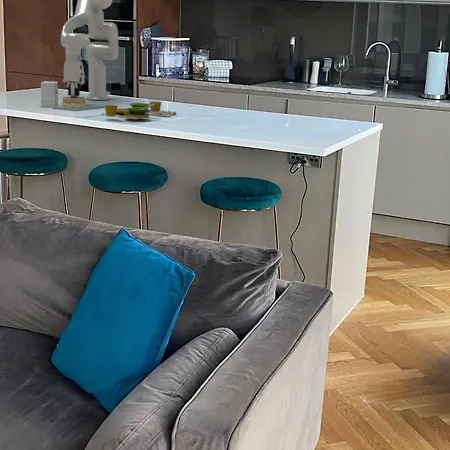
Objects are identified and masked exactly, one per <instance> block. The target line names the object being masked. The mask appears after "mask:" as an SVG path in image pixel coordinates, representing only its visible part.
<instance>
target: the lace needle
mask: <svg viewBox="0 0 450 450" xmlns="http://www.w3.org/2000/svg"><path fill="white" fill-rule="evenodd" d="M70 84H71V96H70V97H71V98H77V97H78V96H75V88H76V87H75V82H72V81H71V82H70Z"/></svg>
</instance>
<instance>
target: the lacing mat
mask: <svg viewBox="0 0 450 450" xmlns="http://www.w3.org/2000/svg"><path fill="white" fill-rule="evenodd" d="M85 104H86V108H81V109H70V108H63V105H61V106H56V107H51V108H52V109H53V110H62V111H63V110H64V111H70V112H72V111H74V112H79V111H88V110H93V109H102V108H103V109H105V105H106V104H99V103H98V104H97V103H91V102H89V103H85Z"/></svg>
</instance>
